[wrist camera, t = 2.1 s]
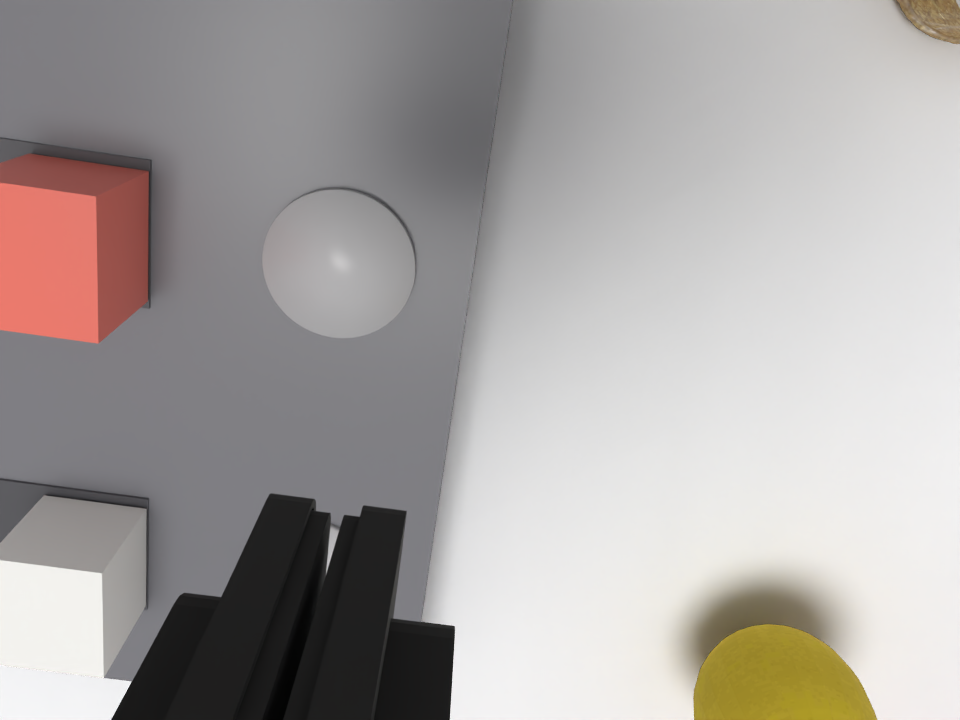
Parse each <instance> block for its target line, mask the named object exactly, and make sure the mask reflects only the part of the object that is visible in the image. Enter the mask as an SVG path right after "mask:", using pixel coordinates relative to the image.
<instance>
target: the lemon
mask: <svg viewBox="0 0 960 720" xmlns="http://www.w3.org/2000/svg"><path fill="white" fill-rule="evenodd" d="M693 699H694V720H877V718H876V715H875V712H874V710H873V708H872V705H871V703H870V701H869V699H868V697H867V695H866V692H865V690H864V688H863V686H862V684H861V683H860V681H859V679H858V678H857V676H856V675H855V673H854V672H853V671H852V670H851V668H850V667H849V666H848V665H847V664H846V663H845V662H844V661H843V660H842V659H841V658H840V656H839V655H838V654H837V653H836V652H835V651H834V650H833V649H831V648H830V647H829V646H828V645H827V644H825V643H824V642H822V641H820V640H819V639H817V638H815V637H814V636H812V635H810V634H809V633H806V632H804V631H802V630H798V629H795V628H792V627H788V626H784V625H772V624H764V625H756V626H750V627H747V628H744V629H741V630H738V631H736V632H734V633H733V634H731V635H729V636H728V637H726V638H724V639H723V640H722V641H721V642H720V643H719V644H718V645H717V646H716V647H715V648H714V649H713V650H712V651H711V652H710V654H709V655H708V657H707V658H706V660H705V661H704V663H703V665H702V667H701V669H700V672H699V675H698V678H697V682H696V685H695V689H694V698H693Z"/></svg>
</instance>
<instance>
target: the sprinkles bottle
mask: <svg viewBox="0 0 960 720" xmlns="http://www.w3.org/2000/svg"><path fill="white" fill-rule="evenodd" d="M897 1H898V2H899V4H900V7H901V9H902V11H903V12H904V14H905V15H906V17H907V19H908V20H910V21H911V22H912V23H913V25H914V26H915V27H916V28H918V29H919V30H921V31H922V32H924V33H925V34H927V35H929V36H931V37H934V38H937V39H940V40H943V41H947V42H950V43H953V44H960V0H897Z"/></svg>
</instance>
